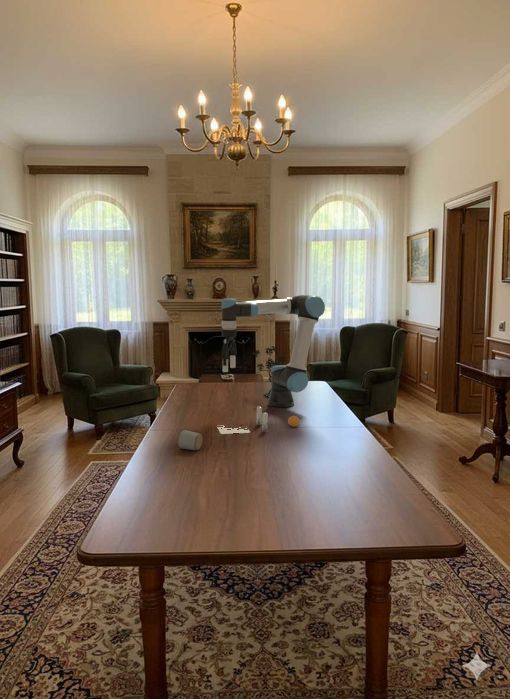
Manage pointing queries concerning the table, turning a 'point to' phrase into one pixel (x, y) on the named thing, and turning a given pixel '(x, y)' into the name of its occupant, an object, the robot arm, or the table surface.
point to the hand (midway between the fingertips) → (229, 369)
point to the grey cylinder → (190, 440)
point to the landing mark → (232, 430)
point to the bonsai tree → (269, 363)
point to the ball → (293, 421)
